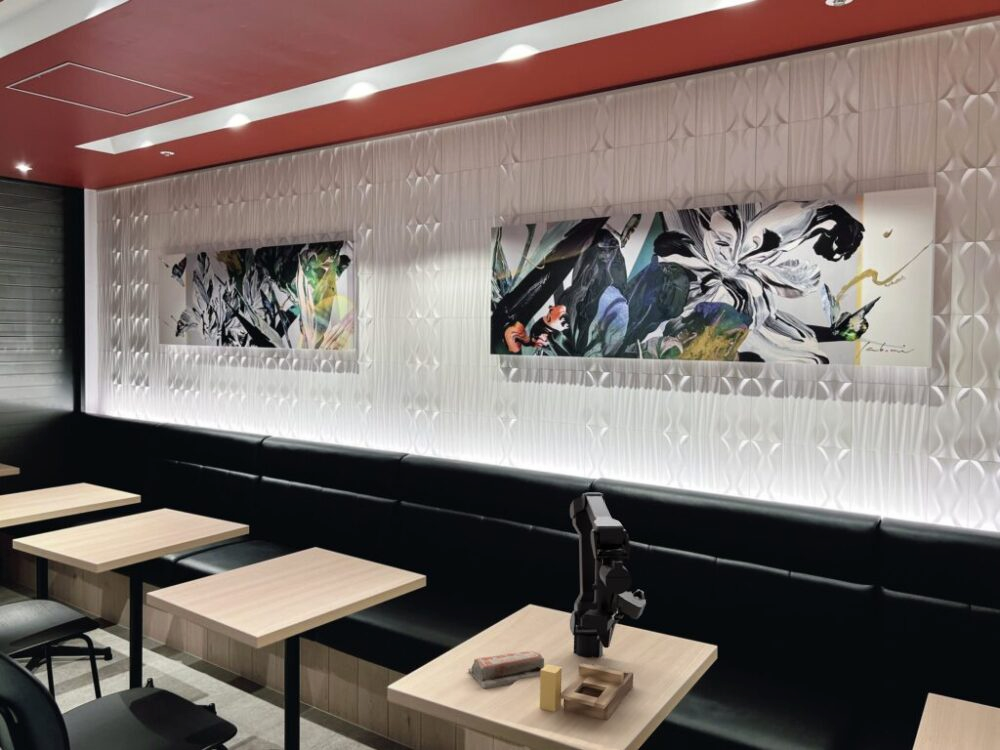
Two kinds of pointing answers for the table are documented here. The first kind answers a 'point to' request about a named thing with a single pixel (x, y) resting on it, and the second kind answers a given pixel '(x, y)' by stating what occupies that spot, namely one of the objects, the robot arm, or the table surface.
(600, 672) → the lid
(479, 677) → the packaged product
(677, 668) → the table surface
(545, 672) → the yellow rectangular block
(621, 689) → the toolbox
